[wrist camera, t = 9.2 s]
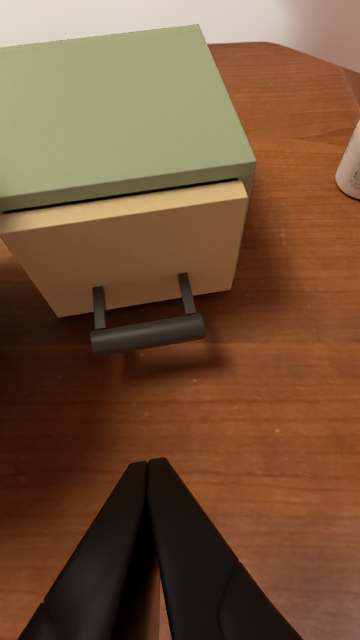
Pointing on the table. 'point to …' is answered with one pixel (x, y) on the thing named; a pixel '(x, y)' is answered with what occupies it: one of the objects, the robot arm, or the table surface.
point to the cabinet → (115, 119)
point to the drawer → (132, 256)
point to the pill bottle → (350, 167)
